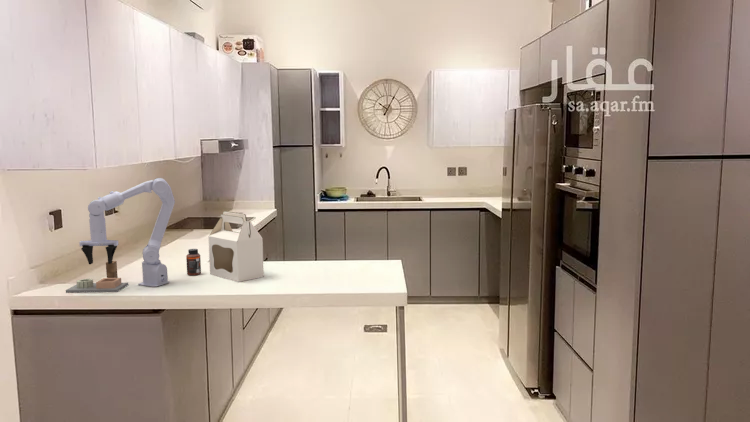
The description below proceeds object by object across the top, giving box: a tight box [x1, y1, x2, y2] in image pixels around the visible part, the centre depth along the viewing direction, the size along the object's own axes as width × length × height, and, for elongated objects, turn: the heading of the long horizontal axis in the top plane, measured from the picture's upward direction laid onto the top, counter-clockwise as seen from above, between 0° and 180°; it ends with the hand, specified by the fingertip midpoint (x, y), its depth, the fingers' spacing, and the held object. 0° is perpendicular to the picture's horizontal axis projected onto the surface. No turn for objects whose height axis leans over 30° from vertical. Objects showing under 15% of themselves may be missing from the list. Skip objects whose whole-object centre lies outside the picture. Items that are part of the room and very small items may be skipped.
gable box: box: [208, 210, 265, 283], centre depth 249 cm, size 22×13×28 cm, turn 48°
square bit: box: [105, 260, 119, 278], centre depth 243 cm, size 3×3×8 cm
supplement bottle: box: [185, 248, 202, 277], centre depth 253 cm, size 6×6×11 cm
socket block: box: [65, 277, 129, 294], centre depth 229 cm, size 20×11×4 cm, turn 92°
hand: (100, 263), depth 228 cm, fingers open, 7 cm apart
